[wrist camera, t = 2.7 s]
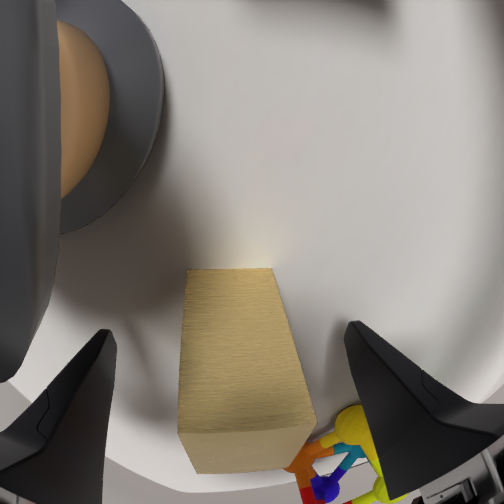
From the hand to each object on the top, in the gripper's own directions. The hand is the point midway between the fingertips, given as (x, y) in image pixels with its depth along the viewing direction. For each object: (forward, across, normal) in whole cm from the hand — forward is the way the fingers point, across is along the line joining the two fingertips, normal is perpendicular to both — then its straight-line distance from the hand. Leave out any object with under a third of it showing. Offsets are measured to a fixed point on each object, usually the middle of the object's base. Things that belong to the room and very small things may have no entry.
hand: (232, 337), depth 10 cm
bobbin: (+1, +6, -8) cm, 10 cm away
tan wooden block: (+2, 0, 0) cm, 2 cm away
